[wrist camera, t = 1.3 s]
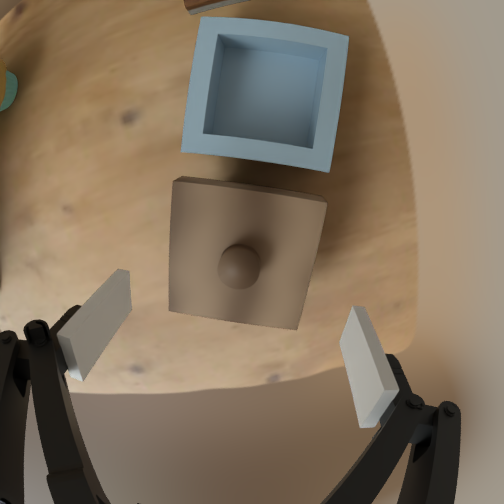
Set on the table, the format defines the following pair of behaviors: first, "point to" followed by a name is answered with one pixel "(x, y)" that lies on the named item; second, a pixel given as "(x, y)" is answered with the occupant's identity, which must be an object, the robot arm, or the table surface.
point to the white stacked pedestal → (207, 4)
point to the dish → (265, 92)
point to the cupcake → (7, 86)
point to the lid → (242, 251)
